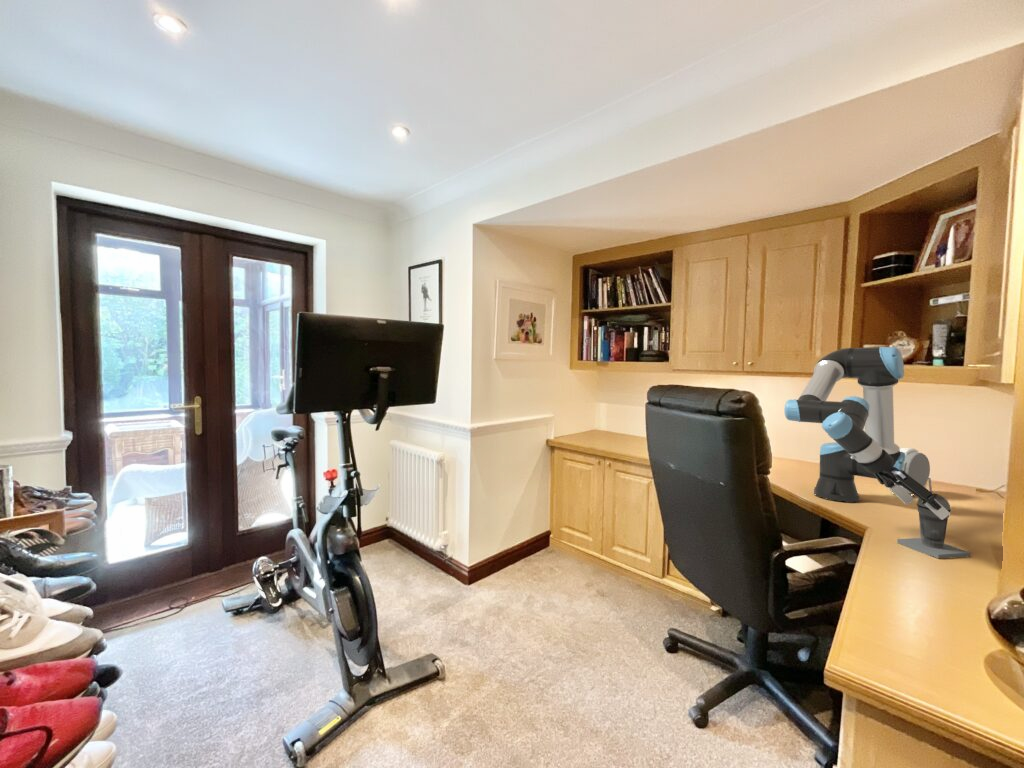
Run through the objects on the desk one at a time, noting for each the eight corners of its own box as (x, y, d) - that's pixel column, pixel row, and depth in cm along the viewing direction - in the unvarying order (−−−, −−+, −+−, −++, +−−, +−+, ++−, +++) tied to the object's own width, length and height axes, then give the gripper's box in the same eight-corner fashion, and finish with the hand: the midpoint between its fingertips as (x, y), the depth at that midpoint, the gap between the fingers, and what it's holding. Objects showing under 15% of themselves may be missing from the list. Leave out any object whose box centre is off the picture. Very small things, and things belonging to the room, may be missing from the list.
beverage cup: (938, 551, 120) (941, 483, 119) (909, 541, 127) (911, 476, 126) (956, 549, 122) (958, 481, 121) (925, 539, 129) (927, 475, 128)
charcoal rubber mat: (927, 541, 130) (927, 537, 130) (970, 556, 119) (970, 552, 119) (897, 543, 129) (897, 539, 129) (938, 558, 118) (938, 554, 118)
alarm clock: (907, 490, 188) (908, 445, 188) (931, 495, 180) (933, 448, 180) (882, 493, 182) (883, 447, 181) (905, 499, 174) (907, 451, 174)
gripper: (837, 456, 139) (887, 503, 137) (888, 473, 115) (950, 532, 112) (855, 441, 138) (907, 489, 135) (911, 455, 114) (975, 514, 111)
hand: (927, 508), depth 124 cm, fingers open, 13 cm apart
